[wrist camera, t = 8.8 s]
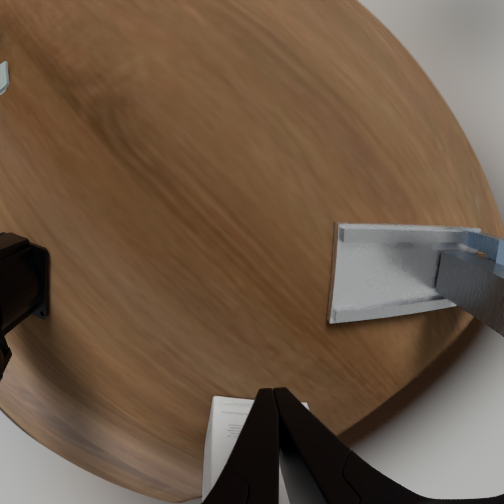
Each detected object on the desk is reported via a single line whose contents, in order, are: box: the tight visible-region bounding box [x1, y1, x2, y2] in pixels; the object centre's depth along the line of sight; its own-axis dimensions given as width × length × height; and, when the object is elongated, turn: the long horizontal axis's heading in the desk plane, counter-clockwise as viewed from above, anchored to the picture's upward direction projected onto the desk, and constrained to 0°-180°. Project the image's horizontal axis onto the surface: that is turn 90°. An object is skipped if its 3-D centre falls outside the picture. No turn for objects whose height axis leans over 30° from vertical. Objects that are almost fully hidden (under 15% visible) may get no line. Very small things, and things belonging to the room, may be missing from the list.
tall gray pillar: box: [435, 251, 504, 337], centre depth 15 cm, size 8×4×10 cm, turn 90°
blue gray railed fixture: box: [327, 222, 504, 323], centre depth 18 cm, size 16×8×5 cm, turn 90°
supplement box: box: [202, 396, 310, 504], centre depth 16 cm, size 9×9×15 cm
